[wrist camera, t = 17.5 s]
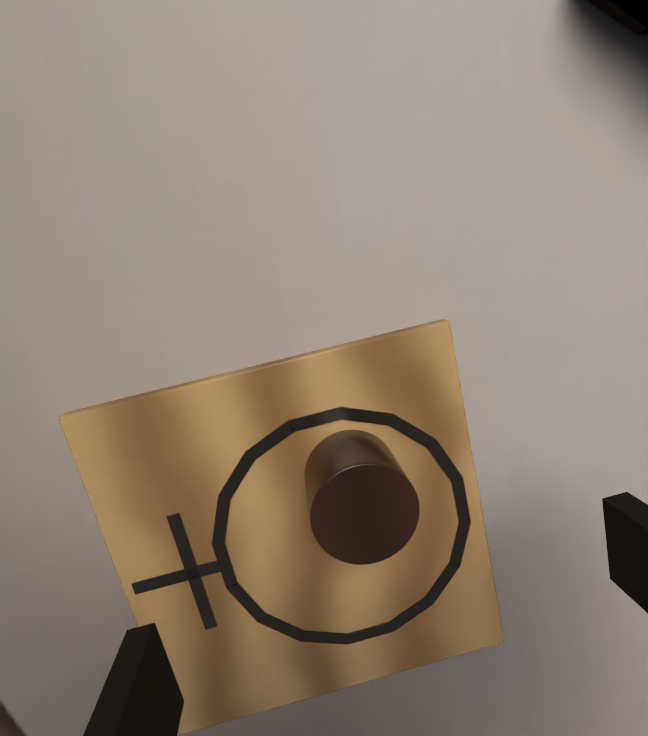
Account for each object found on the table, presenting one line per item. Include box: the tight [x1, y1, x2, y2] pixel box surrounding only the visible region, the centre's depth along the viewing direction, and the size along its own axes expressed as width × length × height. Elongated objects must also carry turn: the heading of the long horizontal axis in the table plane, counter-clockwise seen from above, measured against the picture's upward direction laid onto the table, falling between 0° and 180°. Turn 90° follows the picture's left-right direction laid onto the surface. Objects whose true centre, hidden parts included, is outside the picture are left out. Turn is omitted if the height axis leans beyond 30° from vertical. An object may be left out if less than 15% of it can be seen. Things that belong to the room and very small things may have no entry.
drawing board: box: [59, 319, 504, 735], centre depth 22 cm, size 18×18×1 cm
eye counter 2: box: [305, 430, 420, 565], centre depth 20 cm, size 4×4×4 cm
